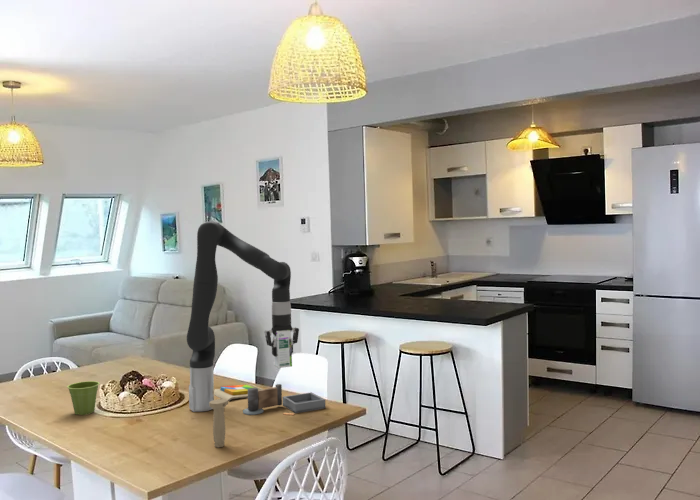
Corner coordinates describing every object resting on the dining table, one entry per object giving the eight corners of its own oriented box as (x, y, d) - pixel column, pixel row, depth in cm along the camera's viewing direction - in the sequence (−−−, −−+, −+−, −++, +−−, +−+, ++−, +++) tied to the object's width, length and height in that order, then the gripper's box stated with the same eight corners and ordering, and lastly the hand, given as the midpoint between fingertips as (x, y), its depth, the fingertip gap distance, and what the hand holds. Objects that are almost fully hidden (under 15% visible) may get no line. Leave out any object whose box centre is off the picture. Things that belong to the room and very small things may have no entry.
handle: (207, 447, 201) (206, 402, 201) (221, 442, 207) (220, 397, 206) (217, 450, 199) (216, 404, 198) (231, 444, 204) (230, 400, 203)
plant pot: (89, 406, 251) (88, 379, 250) (106, 411, 244) (105, 383, 244) (61, 414, 241) (61, 385, 241) (78, 419, 234) (77, 390, 234)
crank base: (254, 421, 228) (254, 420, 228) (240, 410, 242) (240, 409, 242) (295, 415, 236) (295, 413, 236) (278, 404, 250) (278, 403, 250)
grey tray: (295, 413, 238) (295, 404, 238) (282, 405, 250) (282, 396, 249) (325, 408, 244) (325, 399, 244) (311, 400, 256) (311, 392, 256)
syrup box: (278, 368, 238) (277, 331, 238) (273, 365, 243) (272, 329, 243) (292, 366, 241) (291, 329, 240) (286, 364, 246) (285, 328, 246)
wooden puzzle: (267, 395, 267) (267, 387, 267) (228, 403, 256) (227, 394, 255) (249, 387, 281) (248, 380, 281) (210, 394, 270) (210, 386, 269)
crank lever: (250, 411, 238) (250, 391, 238) (246, 408, 241) (246, 388, 241) (283, 405, 246) (283, 385, 246) (279, 403, 249) (279, 383, 249)
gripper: (294, 310, 248) (295, 351, 249) (260, 313, 241) (262, 355, 242) (302, 312, 242) (303, 354, 242) (267, 315, 235) (268, 359, 235)
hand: (282, 355), depth 242 cm, fingers closed on syrup box, 5 cm apart
